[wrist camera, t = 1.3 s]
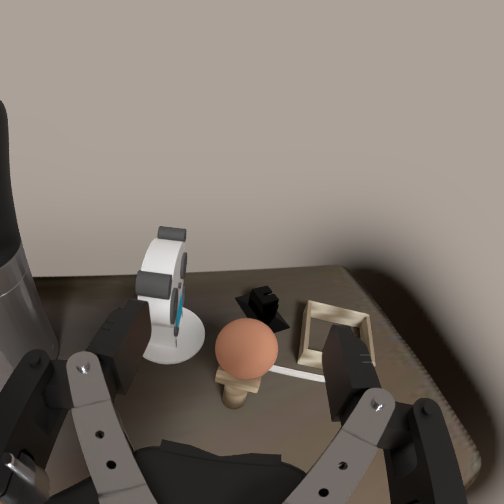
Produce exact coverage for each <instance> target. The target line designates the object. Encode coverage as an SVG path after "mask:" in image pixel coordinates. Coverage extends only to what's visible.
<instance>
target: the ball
mask: <svg viewBox="0 0 504 504" xmlns="http://www.w3.org/2000/svg"><path fill="white" fill-rule="evenodd" d="M215 353H216V358H217V360H218V362H219V364H220V366H221V367H222V368H223V369H224V370H225V371H226V372H227V373H228V374H230V375H231V376H234V377H236V378H240V379H253V378H257V377H260V376H262V375H263V374H265V373H266V372H268V371H269V370H270V368H271V367H272V366H273V364H274V363H275V361H276V358H277V354H278V344H277V340H276V337H275V335H274V333H273V332H272V330H271V329H270V328H269V327H268V326H267V325H266V324H264V323H263V322H261V321H259V320H256V319H251V318H242V319H237V320H234V321H232V322H230V323H229V324H227V325H226V326H225V327H224V328H223V329H222V330H221V332H220V333H219V335H218V337H217V340H216V344H215Z"/></svg>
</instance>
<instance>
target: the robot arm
mask: <svg viewBox="0 0 504 504" xmlns="http://www.w3.org/2000/svg"><path fill="white" fill-rule="evenodd" d="M151 333H152V327H151V319H150V310H149V303H148V301H143V300H138V299H133V298H132V299H130V300H129V302H128V303H127V305H126V306H125V308H120V307H119V308H118V309H116V310H115V311H113V312H112V313H111V314H110V315H109V316H108V318H107V319H106V321H105V323H104V324H103V325H102V327H101V329H100V330H99V331H98V333H97V334H96V336H95V337H94V339H93V340H92V342H91V343H90V345H89V346H88V348H87V349H86V351H82V352H78V353H75V354H74V355H72V356H71V357H70V358H69V359H68V360H56V359H57V356H58V352H59V343H58V340H57V337H56V335H55V333H54V331H53V329H52V326H51V324H50V322H49V319H48V317H47V315H46V312H45V310H44V307H43V305H42V302H41V300H40V297H39V294H38V292H37V289H36V286H35V283H34V280H33V277H32V275H31V272H30V268H29V265H28V262H27V259H26V256H25V252H24V249H23V245H22V241H21V237H20V233H19V229H18V224H17V219H16V213H15V207H14V202H13V196H12V189H11V180H10V166H9V135H8V119H7V113H6V109H5V107H4V104H3V103H2V101H0V349H1V351H2V352H3V354H4V355H5V357H6V358H7V360H8V361H9V362H10V364H11V365H12V367H13V368H14V369H15V370H14V371H13V373H12V374H11V376H10V378H9V379H8V381H7V382H6V384H5V386H4V387H3V389H2V391H1V392H0V502H1V503H2V504H345V503H346V501H347V500H348V498H349V497H350V495H351V494H352V492H353V491H354V489H355V488H356V486H357V484H358V483H359V481H360V480H361V478H362V476H363V475H364V473H365V471H366V470H367V468H368V466H369V464H370V463H371V461H372V459H373V457H374V456H375V454H376V452H377V449H378V448H381V449H383V451H384V457H385V463H386V470H387V477H388V484H389V492H390V500H391V504H467V499H466V494H465V489H464V485H463V481H462V477H461V473H460V469H459V465H458V462H457V458H456V455H455V451H454V448H453V445H452V441H451V438H450V435H449V432H448V429H447V426H446V423H445V420H444V417H443V414H442V412H441V409H440V407H439V405H438V404H437V403H436V402H435V401H433V400H431V399H429V398H420V399H418V400H417V401H416V402H415V403H414V404H413V405H409V404H404V403H399V402H396V401H395V400H394V398H393V396H392V395H391V394H390V393H389V392H388V391H386V390H384V389H382V388H381V385H380V382H379V379H378V376H377V374H376V371H375V368H374V365H373V363H372V359H371V357H370V356H369V351H368V348H367V346H366V344H365V343H364V342H363V341H362V340H361V339H360V338H359V337H354V335H353V332H352V330H351V327H350V326H349V325H332V327H331V329H330V332H329V334H328V337H327V340H326V343H325V345H324V348H323V351H322V367H323V372H324V378H325V383H326V389H327V395H328V401H329V407H330V413H331V419H332V422H338V421H341V426H342V427H341V428H340V430H339V431H338V433H337V434H336V435H335V437H334V438H333V440H332V441H331V442H330V444H329V445H328V447H327V448H326V449H325V451H324V452H323V453H322V455H321V456H320V457H319V458H318V460H317V461H316V462H315V463H314V465H313V466H312V467H311V468H310V469H309V471H308V472H307V473H305V472H304V471H302V470H301V469H299V468H297V467H295V466H293V465H291V464H288V463H285V462H281V455H277V454H257V453H249V454H241V455H232V456H217V455H214V454H212V453H209V452H206V451H204V450H201V449H199V448H196V447H194V446H191V445H187V444H182V443H177V442H172V441H167V440H163V439H162V442H161V445H160V446H151V447H145V448H141V449H138V450H136V451H135V449H134V446H133V444H132V442H131V440H130V438H129V436H128V434H127V431H126V429H125V427H124V424H123V422H122V419H121V417H120V414H119V411H118V409H117V406H116V403H115V401H114V398H115V396H116V394H117V393H119V394H123V395H126V393H127V390H128V388H129V386H130V384H131V381H132V379H133V377H134V374H135V372H136V370H137V368H138V365H139V363H140V361H141V359H142V357H143V354H144V352H145V350H146V348H147V346H148V344H149V341H150V338H151ZM69 409H71V410H72V416H73V420H74V424H75V428H76V431H77V435H78V438H79V442H80V445H81V448H82V452H83V455H84V458H85V461H86V464H87V466H88V469H89V472H90V475H91V476H90V477H88V478H86V479H84V480H83V481H81V482H79V483H77V484H75V485H73V486H71V487H69V488H67V489H65V490H63V491H61V492H59V493H57V494H55V495H53V496H51V497H50V495H49V490H50V486H49V478H48V475H47V473H46V472H45V471H44V470H45V468H46V465H47V462H48V459H49V457H50V454H51V451H52V449H53V446H54V443H55V441H56V438H57V436H58V433H59V431H60V429H61V426H62V424H63V421H64V419H65V417H66V414H67V412H68V410H69Z"/></svg>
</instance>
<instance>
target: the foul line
mask: <svg viewBox="0 0 504 504" xmlns="http://www.w3.org/2000/svg"><path fill="white" fill-rule="evenodd" d="M269 371H273V372H277V373H281V374H285V375H290V376H295V377H299V378H304V379H309V380H314V381H319V382H325V378H324V376H322V375H317V374H312V373H307V372H302V371H297V370H293V369H288V368H284V367H279V366H275V365H273V366H272V367H271V368H270V370H269Z"/></svg>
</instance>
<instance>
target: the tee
mask: <svg viewBox="0 0 504 504" xmlns="http://www.w3.org/2000/svg"><path fill="white" fill-rule="evenodd" d="M261 378H262V376H260V377H257V378H253V379H240V378H236V377H234V376H231V375H230V374H228V373H227V372H226V371H225V370H224V369H223V368H222V367H221V366H220V364H219V367H218V370H217V373H216V378H215V382H217V383H221V384H224V385H225V386H224V391H223V396H222V402H223V404H224V405H225V406H226V407H228V408H230V409H238V408H240V407H242V406H243V404H244V401H245V398H246V395H247V392H248V391H250V392H254V393H257V391H258V389H259V386H260V382H261Z"/></svg>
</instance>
